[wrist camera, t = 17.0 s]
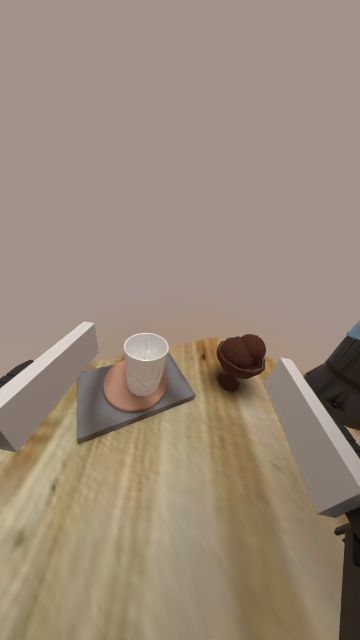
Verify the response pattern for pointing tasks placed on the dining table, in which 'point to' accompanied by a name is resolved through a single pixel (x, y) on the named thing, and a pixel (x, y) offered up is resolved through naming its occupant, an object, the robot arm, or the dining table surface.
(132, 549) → the dining table surface
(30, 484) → the dining table surface
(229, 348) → the ice cream bowl
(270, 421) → the dining table surface
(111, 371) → the serving stand
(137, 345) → the white cup
